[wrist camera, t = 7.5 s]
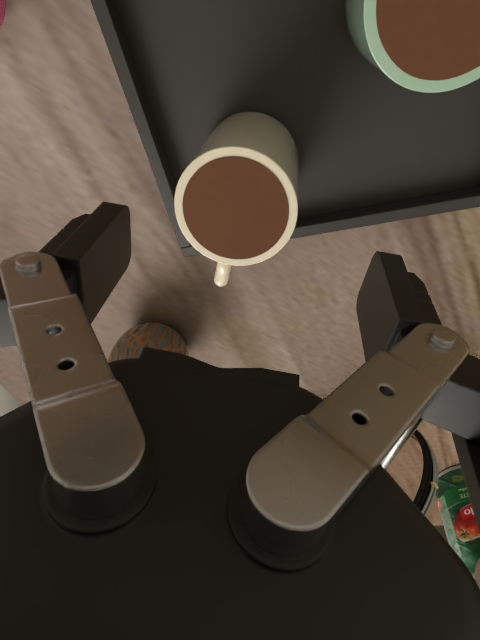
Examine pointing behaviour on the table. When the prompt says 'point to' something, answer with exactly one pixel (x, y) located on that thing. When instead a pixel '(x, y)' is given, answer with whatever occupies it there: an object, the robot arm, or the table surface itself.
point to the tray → (293, 106)
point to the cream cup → (240, 192)
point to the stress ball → (2, 11)
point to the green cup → (419, 40)
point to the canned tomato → (458, 516)
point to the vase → (147, 341)
